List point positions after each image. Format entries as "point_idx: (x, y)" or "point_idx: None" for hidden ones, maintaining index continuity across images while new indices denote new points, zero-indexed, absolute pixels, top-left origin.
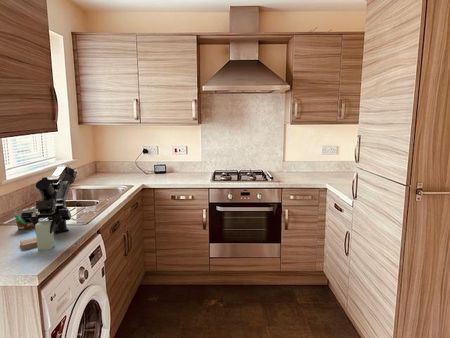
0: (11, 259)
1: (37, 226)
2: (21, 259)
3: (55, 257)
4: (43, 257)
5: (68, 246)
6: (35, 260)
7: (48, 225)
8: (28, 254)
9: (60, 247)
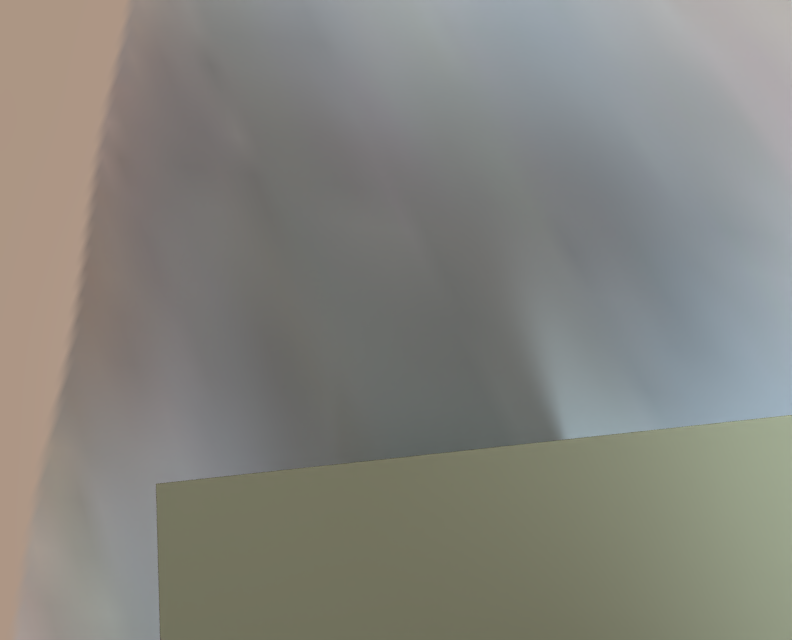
0: None
1: (725, 424)
2: (657, 103)
3: (127, 115)
4: (324, 137)
5: (33, 589)
6: (404, 44)
7: (186, 518)
8: (654, 292)
9: None
